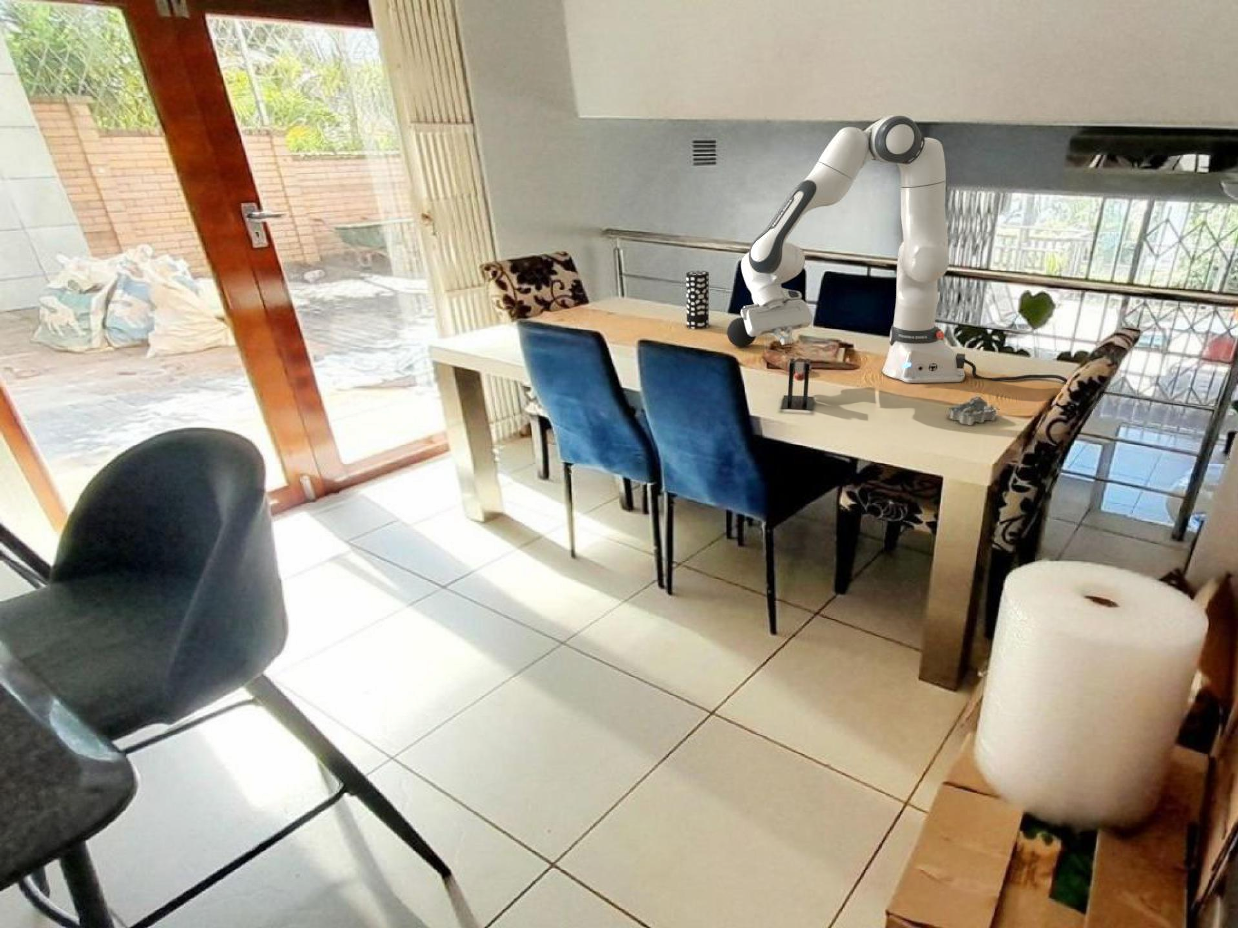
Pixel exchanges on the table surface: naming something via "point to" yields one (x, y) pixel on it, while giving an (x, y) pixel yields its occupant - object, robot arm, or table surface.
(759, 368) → the table surface
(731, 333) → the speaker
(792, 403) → the bracket
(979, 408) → the grey lumpy block
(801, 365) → the lever
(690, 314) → the white-spotted black cylinder
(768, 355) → the bread
